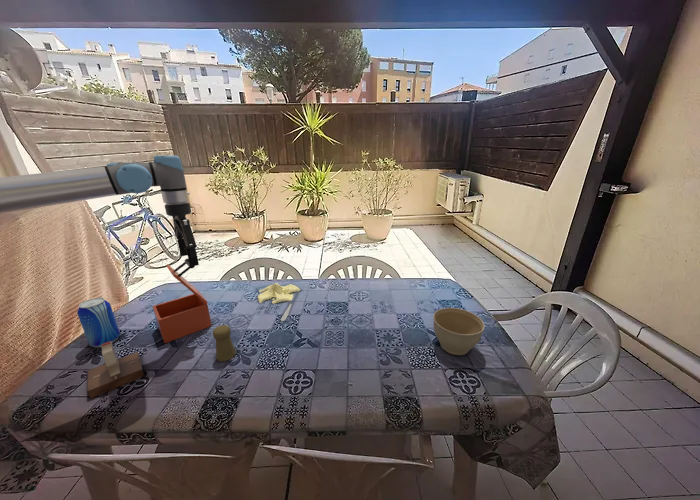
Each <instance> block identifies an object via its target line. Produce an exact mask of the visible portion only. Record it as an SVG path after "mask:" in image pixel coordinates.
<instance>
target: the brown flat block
mask: <svg viewBox="0 0 700 500" xmlns="http://www.w3.org/2000/svg"><path fill="white" fill-rule="evenodd" d="M117 359H118V362H119V367H120V373H119V374H116V375H114V376H111V377H110V374H109V371H108V369H107V366H106V363H105V364H101V365H99V366H97V367H94V368H90V369H88V370H87V393H88V396H89V399H93V398H97V397H98V396H100V395H103V394H105V393H108V392H110V391H113V390H115V389H117V388H120V387H122V386H125V385H127V384H129V383H131V382H134V381H136V380H139V379H141V378H143V377H145V374H144V370H143V365H142V362H141V358H140V354H139V352H138V351H136V352H133V353H131V354H129V355H126V356H123V357H121V358H117Z"/></svg>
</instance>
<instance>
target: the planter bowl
mask: <svg viewBox="0 0 700 500" xmlns="http://www.w3.org/2000/svg"><path fill="white" fill-rule="evenodd" d="M432 316H433V317H432V318H433V319H432V321H433V331H434V334H435V337H436V339H437V341H438V342H439V345H440V347H441V348H442V350H443V351H445V352H447V353H448V354H451V355H454V356H464V355H466V354H468V353H469V352H470V350H472V349H474V348H475V347H476V345H478V343H479V342H480V340H481V338H482V337H483V333H484V330H485V323H484V321H483V319H481V317H480V316H478V315H477V314H476V313H473V312H471V311H469V310H466V309H462V308H457V307H444V308H439V309H438V310H436V311H435V312H434V314H433V315H432Z"/></svg>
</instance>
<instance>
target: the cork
mask: <svg viewBox="0 0 700 500" xmlns="http://www.w3.org/2000/svg"><path fill="white" fill-rule="evenodd" d="M231 331H232V330H231V327H230V326H229V325H227V324H221V325H218V326H216V327H215V328H214V329H213V331H212V336H213V338H214V339H215V355H216V356H215V358H216V360H217V361H218V362H226V361H229V360H231V359H233V358H234V357H235V356H236V354H237V352H236V348H235V346H234V343H233V340H232V338H231V333H232V332H231Z"/></svg>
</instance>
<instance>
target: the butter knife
mask: <svg viewBox="0 0 700 500" xmlns="http://www.w3.org/2000/svg"><path fill="white" fill-rule="evenodd" d="M292 305H293V304H292V303H290V304H289V305H288V306H287V308H286V310H285V312H284V313H283V314H282V316H281V318H280V321H281V322H284V321H286V319H287V317H288V316H289V314H290V311H291V308H292Z"/></svg>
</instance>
